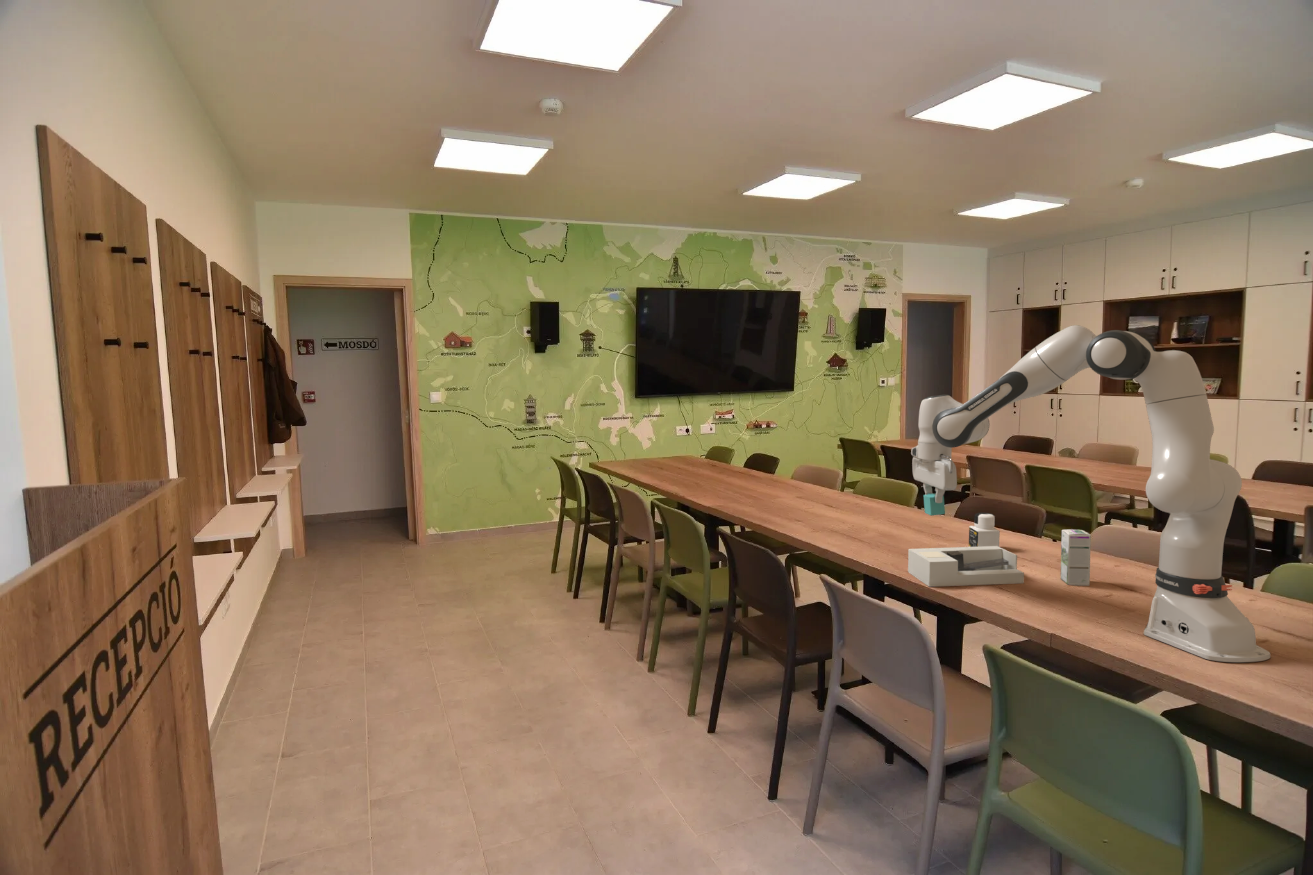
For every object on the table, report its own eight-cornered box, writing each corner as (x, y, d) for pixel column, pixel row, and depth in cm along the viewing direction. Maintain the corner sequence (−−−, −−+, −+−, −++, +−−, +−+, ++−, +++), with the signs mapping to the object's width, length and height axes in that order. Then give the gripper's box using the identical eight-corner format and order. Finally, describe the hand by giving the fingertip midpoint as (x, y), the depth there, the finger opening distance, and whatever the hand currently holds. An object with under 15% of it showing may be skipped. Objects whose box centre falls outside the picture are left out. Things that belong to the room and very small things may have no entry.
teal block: (944, 513, 196) (943, 495, 195) (931, 515, 195) (929, 497, 195) (938, 511, 200) (937, 493, 199) (924, 512, 199) (923, 495, 199)
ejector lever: (1009, 564, 199) (1007, 547, 198) (953, 572, 198) (952, 555, 197) (1002, 561, 202) (1001, 544, 201) (948, 569, 201) (946, 552, 200)
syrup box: (1090, 586, 190) (1092, 534, 189) (1066, 585, 191) (1068, 533, 190) (1082, 579, 196) (1084, 529, 194) (1059, 579, 197) (1061, 528, 195)
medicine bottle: (968, 546, 234) (969, 511, 232) (989, 546, 233) (990, 511, 232) (977, 552, 226) (978, 515, 225) (999, 551, 226) (1000, 515, 225)
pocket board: (1023, 583, 194) (1024, 558, 193) (929, 586, 192) (929, 561, 191) (996, 568, 208) (997, 545, 207) (908, 572, 206) (908, 548, 205)
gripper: (963, 456, 186) (962, 507, 187) (929, 448, 206) (928, 494, 207) (940, 457, 185) (939, 508, 187) (908, 448, 206) (907, 494, 207)
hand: (933, 500), depth 197 cm, fingers closed on teal block, 4 cm apart
